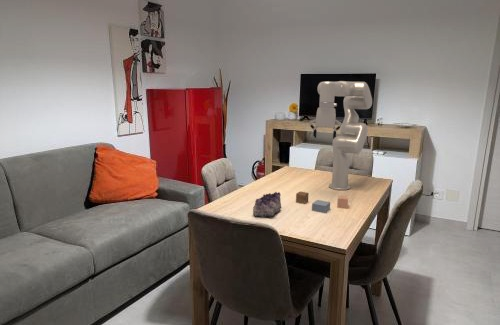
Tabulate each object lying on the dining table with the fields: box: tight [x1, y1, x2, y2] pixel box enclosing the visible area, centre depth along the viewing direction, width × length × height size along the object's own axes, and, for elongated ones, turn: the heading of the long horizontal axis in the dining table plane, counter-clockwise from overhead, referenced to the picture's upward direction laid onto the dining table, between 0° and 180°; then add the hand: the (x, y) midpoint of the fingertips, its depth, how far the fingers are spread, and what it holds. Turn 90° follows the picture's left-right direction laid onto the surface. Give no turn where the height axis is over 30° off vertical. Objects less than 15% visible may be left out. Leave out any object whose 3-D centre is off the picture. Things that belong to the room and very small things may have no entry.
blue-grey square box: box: [311, 199, 331, 214], centre depth 179 cm, size 7×7×4 cm
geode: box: [252, 191, 282, 218], centre depth 175 cm, size 20×12×10 cm, turn 155°
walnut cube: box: [295, 191, 310, 205], centre depth 190 cm, size 5×5×5 cm
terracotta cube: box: [336, 195, 349, 210], centre depth 184 cm, size 5×5×5 cm
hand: (324, 138), depth 189 cm, fingers open, 9 cm apart
